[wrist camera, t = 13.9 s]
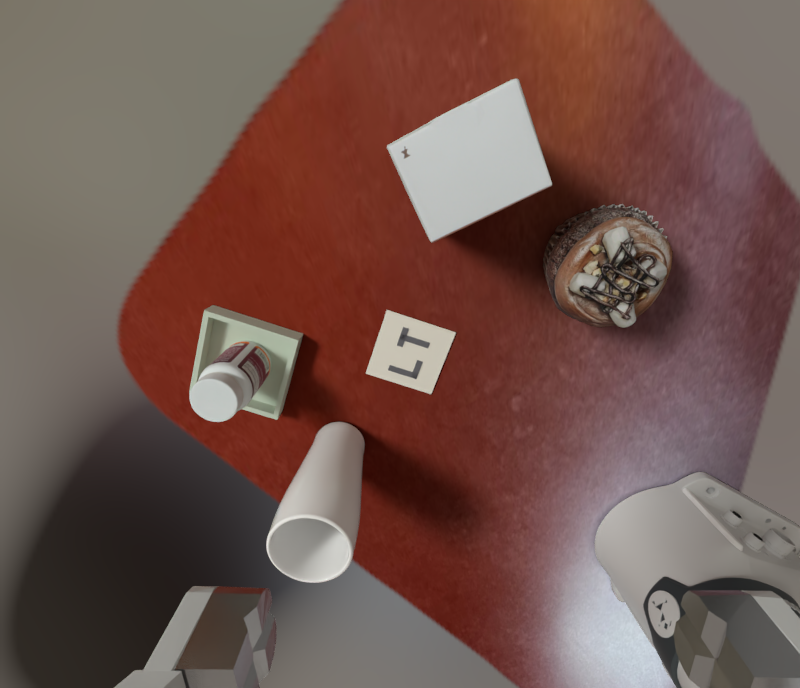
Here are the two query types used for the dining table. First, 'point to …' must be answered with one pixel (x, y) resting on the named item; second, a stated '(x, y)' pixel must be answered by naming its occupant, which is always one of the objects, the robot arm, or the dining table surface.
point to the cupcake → (607, 265)
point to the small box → (471, 161)
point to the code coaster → (410, 352)
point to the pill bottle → (230, 381)
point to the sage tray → (276, 340)
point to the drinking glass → (321, 508)
